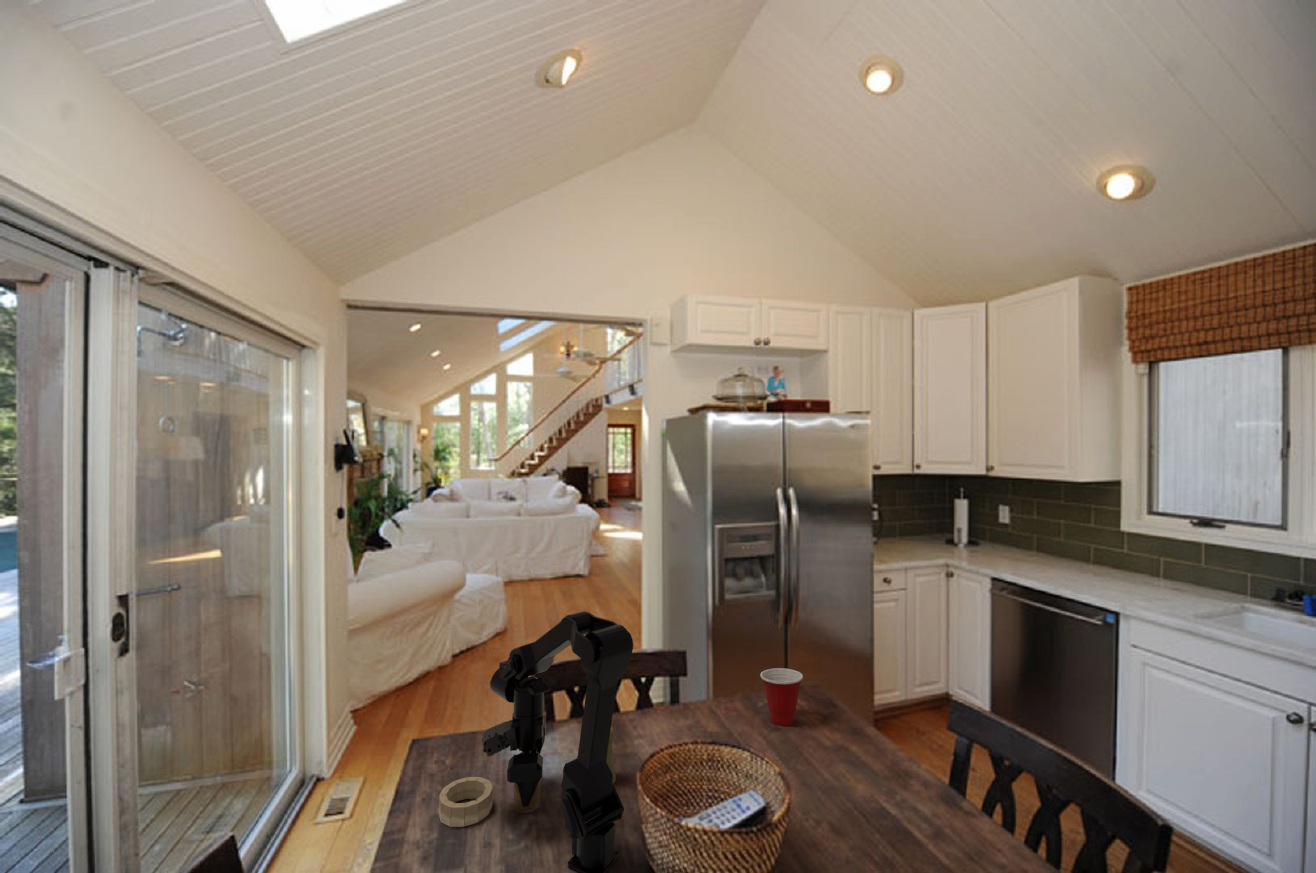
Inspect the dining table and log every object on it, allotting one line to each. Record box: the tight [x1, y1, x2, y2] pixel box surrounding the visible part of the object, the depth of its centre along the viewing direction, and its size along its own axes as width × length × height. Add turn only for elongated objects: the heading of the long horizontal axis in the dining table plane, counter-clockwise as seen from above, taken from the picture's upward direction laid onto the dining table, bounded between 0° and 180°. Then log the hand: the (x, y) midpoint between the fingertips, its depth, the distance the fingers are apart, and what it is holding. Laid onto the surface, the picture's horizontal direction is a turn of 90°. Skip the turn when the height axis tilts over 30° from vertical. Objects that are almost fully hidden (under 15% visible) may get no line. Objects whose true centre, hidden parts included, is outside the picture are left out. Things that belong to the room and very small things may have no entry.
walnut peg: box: [513, 751, 541, 814], centre depth 107 cm, size 5×5×9 cm
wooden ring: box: [438, 776, 494, 828], centre depth 105 cm, size 9×9×4 cm
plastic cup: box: [759, 667, 804, 727], centre depth 142 cm, size 11×11×12 cm
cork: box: [607, 725, 617, 785], centre depth 116 cm, size 6×6×11 cm
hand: (527, 791), depth 107 cm, fingers open, 9 cm apart
